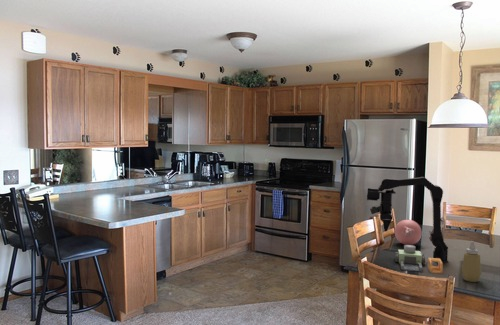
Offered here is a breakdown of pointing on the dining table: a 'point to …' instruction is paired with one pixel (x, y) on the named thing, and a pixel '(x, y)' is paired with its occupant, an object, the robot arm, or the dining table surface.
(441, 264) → the chute
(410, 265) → the chute bracket
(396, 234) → the pink rounded piece
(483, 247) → the dining table surface
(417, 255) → the mower deck
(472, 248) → the squeeze bottle
